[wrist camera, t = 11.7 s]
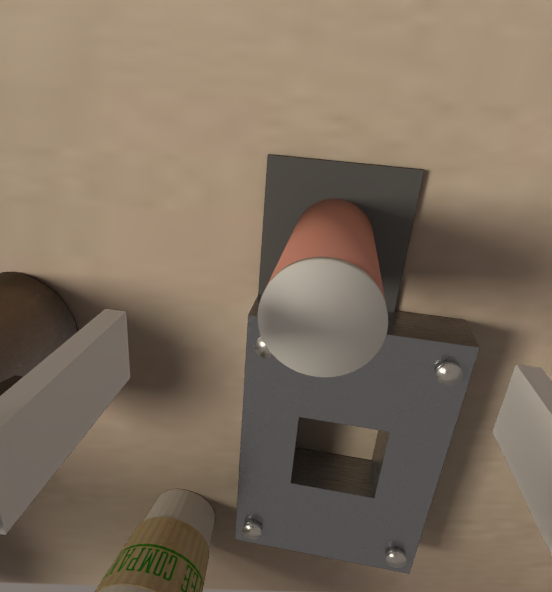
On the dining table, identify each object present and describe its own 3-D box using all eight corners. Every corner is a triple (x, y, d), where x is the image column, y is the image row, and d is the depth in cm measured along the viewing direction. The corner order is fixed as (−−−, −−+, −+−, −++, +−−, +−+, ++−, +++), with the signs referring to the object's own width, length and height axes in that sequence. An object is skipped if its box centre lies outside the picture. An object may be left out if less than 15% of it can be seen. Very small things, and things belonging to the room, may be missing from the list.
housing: (244, 501, 42) (233, 545, 37) (259, 292, 33) (246, 319, 29) (403, 531, 40) (410, 580, 36) (464, 319, 31) (482, 352, 27)
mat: (259, 292, 33) (258, 294, 32) (268, 154, 29) (267, 154, 28) (393, 310, 32) (394, 312, 31) (423, 169, 28) (424, 170, 27)
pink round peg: (290, 269, 31) (253, 366, 19) (298, 194, 29) (261, 252, 17) (366, 279, 31) (375, 386, 19) (379, 203, 28) (400, 269, 17)
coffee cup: (248, 502, 42) (199, 694, 28) (212, 559, 46) (154, 750, 32) (155, 459, 41) (59, 631, 28) (127, 520, 45) (32, 697, 32)
